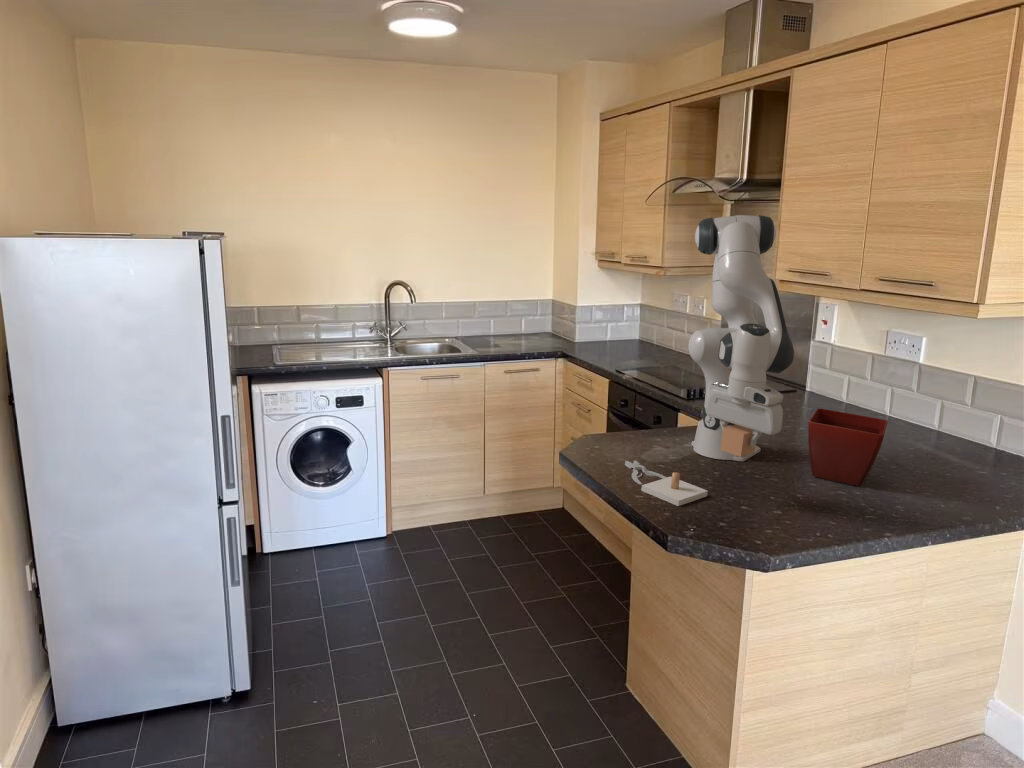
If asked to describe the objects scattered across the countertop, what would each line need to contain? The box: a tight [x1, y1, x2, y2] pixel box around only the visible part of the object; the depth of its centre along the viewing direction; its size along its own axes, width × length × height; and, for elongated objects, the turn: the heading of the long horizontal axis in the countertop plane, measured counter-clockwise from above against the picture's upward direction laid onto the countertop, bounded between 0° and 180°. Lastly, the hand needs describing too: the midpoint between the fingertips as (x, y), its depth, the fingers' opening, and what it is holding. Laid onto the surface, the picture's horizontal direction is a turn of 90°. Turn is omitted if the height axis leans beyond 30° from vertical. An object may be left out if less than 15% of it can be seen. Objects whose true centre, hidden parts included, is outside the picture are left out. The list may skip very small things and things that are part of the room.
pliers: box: [624, 460, 667, 486], centre depth 198 cm, size 10×2×15 cm
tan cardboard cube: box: [720, 424, 755, 457], centre depth 181 cm, size 6×6×6 cm
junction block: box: [640, 471, 708, 507], centre depth 184 cm, size 12×12×6 cm
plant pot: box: [807, 408, 889, 487], centre depth 202 cm, size 19×19×17 cm
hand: (738, 441), depth 181 cm, fingers closed on tan cardboard cube, 6 cm apart
